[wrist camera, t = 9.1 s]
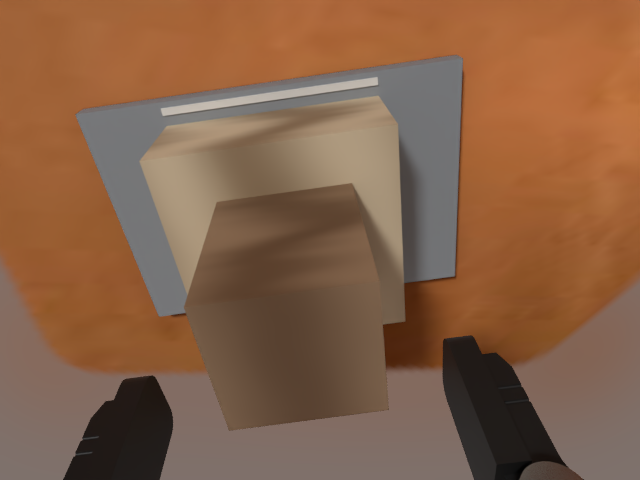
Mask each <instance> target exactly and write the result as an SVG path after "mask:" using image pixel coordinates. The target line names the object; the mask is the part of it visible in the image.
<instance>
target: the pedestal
mask: <svg viewBox="0 0 640 480" xmlns="http://www.w3.org/2000/svg"><path fill="white" fill-rule="evenodd" d="M139 162H140V164H141V167H142V170H143V173H144V176H145V178H146V181H147V184H148V187H149V189H150V192H151V195H152V198H153V201H154V203H155V206H156V209H157V212H158V215H159V217H160V220H161V223H162V226H163V228H164V231H165V234H166V237H167V240H168V242H169V245H170V248H171V251H172V254H173V256H174V259H175V262H176V265H177V267H178V270H179V273H180V276H181V279H182V281H183V284H184V287H185V290H186V293H187V295H188V292H189V289H190V286H191V283H192V279H193V276H194V273H195V270H196V267H197V263H198V260H199V257H200V254H201V251H202V247H203V244H204V241H205V238H206V235H207V231H208V228H209V225H210V222H211V219H212V215H213V212H214V209H215V206H216V203H217V202H220V201H227V200H234V199H241V198H248V197H256V196H263V195H270V194H277V193H284V192H291V191H299V190H306V189H313V188H320V187H327V186H334V185H342V184H349V183H352V185H353V189H354V192H355V196H356V199H357V203H358V206H359V210H360V214H361V217H362V221H363V224H364V228H365V231H366V235H367V238H368V242H369V245H370V249H371V252H372V256H373V259H374V263H375V266H376V270H377V273H378V277H379V280H380V292H381V306H382V321H383V324H391V323H398V322H405V298H404V271H403V244H402V217H401V190H400V163H399V136H398V123H397V122H396V120H395V119H394V118H393V116H392V115H391V113H390V112H389V110H388V109H387V107H386V106H385V104H384V103H383V101H382V100H381V99H380V97H379V96H372V97H365V98H359V99H352V100H345V101H338V102H331V103H324V104H317V105H310V106H303V107H296V108H289V109H282V110H275V111H268V112H261V113H255V114H248V115H241V116H234V117H227V118H220V119H213V120H206V121H199V122H192V123H185V124H178V125H171V126H166V128H165V129H164V130H163V131H162V133H161V134H160V135H159V137H158V138H157V139H156V140H155V142H154V143H153V144H152V146H151V147H150V148H149V149H148V151H147V152H146V153H145V155H144V156H143V157H142V158H141V160H140V161H139Z"/></svg>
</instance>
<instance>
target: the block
mask: <svg viewBox="0 0 640 480" xmlns="http://www.w3.org/2000/svg"><path fill="white" fill-rule="evenodd" d="M184 310H185V312H186V315H187V318H188V321H189V323H190V326H191V329H192V331H193V334H194V337H195V340H196V342H197V345H198V348H199V350H200V353H201V356H202V358H203V361H204V364H205V367H206V369H207V372H208V375H209V377H210V380H211V383H212V386H213V388H214V391H215V394H216V396H217V399H218V402H219V404H220V407H221V410H222V413H223V415H224V418H225V421H226V423H227V426H228V429H229V431H230V430H237V429H246V428H253V427H261V426H268V425H276V424H283V423H292V422H299V421H307V420H315V419H322V418H330V417H338V416H345V415H353V414H360V413H368V412H376V411H384V410H389V408H388V407H389V406H388V393H387V378H386V364H385V349H384V335H383V321H382V306H381V292H380V280H379V277H378V273H377V270H376V266H375V263H374V259H373V256H372V252H371V249H370V245H369V242H368V238H367V235H366V231H365V228H364V224H363V221H362V217H361V214H360V210H359V206H358V203H357V199H356V196H355V192H354V189H353V185H352V183H349V184H342V185H334V186H327V187H320V188H313V189H306V190H299V191H291V192H284V193H277V194H270V195H263V196H256V197H248V198H241V199H234V200H227V201H220V202H217V203H216V206H215V209H214V212H213V215H212V219H211V222H210V225H209V228H208V231H207V235H206V238H205V241H204V244H203V247H202V251H201V254H200V257H199V260H198V263H197V267H196V270H195V273H194V276H193V279H192V283H191V286H190V289H189V292H188V295H187V299H186V302H185V305H184Z"/></svg>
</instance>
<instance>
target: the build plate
mask: <svg viewBox="0 0 640 480" xmlns="http://www.w3.org/2000/svg"><path fill="white" fill-rule="evenodd" d="M462 68H463V58H461V57H459V56H458V55H453V56H446V57H439V58H432V59H425V60H419V61H412V62H405V63H398V64H391V65H384V66H377V67H370V68H364V69H357V70H350V71H343V72H336V73H329V74H322V75H315V76H309V77H302V78H295V79H288V80H281V81H274V82H267V83H260V84H253V85H247V86H240V87H233V88H226V89H219V90H212V91H205V92H198V93H192V94H185V95H178V96H171V97H164V98H157V99H150V100H143V101H137V102H130V103H123V104H116V105H109V106H102V107H95V108H88V109H83V110H81V111H80V112H78V113H77V114H75V115H76V117H77V120H78V122H79V125H80V127H81V129H82V132H83V134H84V137H85V139H86V141H87V144H88V146H89V149H90V151H91V154H92V156H93V158H94V161H95V163H96V166H97V168H98V170H99V173H100V175H101V178H102V180H103V182H104V185H105V187H106V190H107V192H108V195H109V197H110V199H111V202H112V204H113V207H114V209H115V211H116V214H117V216H118V219H119V221H120V224H121V226H122V228H123V231H124V233H125V236H126V238H127V240H128V243H129V245H130V248H131V250H132V252H133V255H134V257H135V260H136V262H137V265H138V267H139V269H140V272H141V274H142V277H143V279H144V281H145V284H146V286H147V289H148V291H149V294H150V296H151V298H152V301H153V303H154V306H155V308H156V310H157V313H158V315H159V317H160V316H167V315H174V314H182V313H186V312H185V310H184V305H185V302H186V299H187V293H186V290H185V287H184V284H183V281H182V279H181V276H180V273H179V270H178V267H177V265H176V262H175V259H174V256H173V254H172V251H171V248H170V245H169V242H168V240H167V237H166V234H165V231H164V228H163V226H162V223H161V220H160V217H159V215H158V212H157V209H156V206H155V203H154V201H153V198H152V195H151V192H150V189H149V187H148V184H147V181H146V178H145V176H144V173H143V170H142V167H141V164H140V162H139V161H140V160H141V158H142V157H143V156H144V155H145V153H146V152H147V151H148V149H149V148H150V147H151V146H152V144H153V143H154V142H155V140H156V139H157V138H158V137H159V135H160V134H161V133H162V131H163V130H164V129H165V128H166V126H171V125H178V124H185V123H192V122H199V121H206V120H213V119H220V118H227V117H234V116H241V115H248V114H255V113H261V112H268V111H275V110H282V109H289V108H296V107H303V106H310V105H317V104H324V103H331V102H338V101H345V100H352V99H359V98H365V97H372V96H379V97H380V99H381V100H382V101H383V103H384V104H385V106H386V107H387V109H388V110H389V112H390V113H391V115H392V116H393V118H394V119H395V120H396V122H397V123H398V136H399V163H400V190H401V217H402V244H403V271H404V283H409V282H416V281H423V280H431V279H438V278H445V277H453V276H455V257H456V230H457V203H458V176H459V149H460V122H461V95H462Z"/></svg>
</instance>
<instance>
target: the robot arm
mask: <svg viewBox="0 0 640 480" xmlns="http://www.w3.org/2000/svg"><path fill="white" fill-rule="evenodd" d="M443 385H444V391H445V395H446V398H447V402H448V405H449V407H450V410H451V413H452V416H453V419H454V422H455V425H456V427H457V431H458V434H459V436H460V439H461V442H462V445H463V448H464V451H465V454H466V457H467V460H468V463H469V466H470V469H471V471H472V474H473V477H474V480H584V479H582V478H581V477H580V476H579V475H578V474H576V473H575V472H574V471H572V470H571V469H569V468H568V467H567V466H566V464H565V463H564V462H563V461H562V459H561V458H560V456H559V454H558V452H557V451H556V449H555V447H554V445H553V443H552V441H551V439H550V437H549V436H548V434H547V432H546V430H545V428H544V426H543V425H542V422H541V421H540V419H539V417H538V415H537V413H536V411H535V409H534V408H533V406H532V404H531V402H529V398H528V396H527V394H526V392H525V391H524V389H523V387H521V383H520V381H519V379H518V377H517V376H516V374H515V372H514V370H513V368H512V366H510V365H509V364H508V363H507V362H506V361H505V360H504V359H503V358H501V357H500V356H499V355H498V354H497V353H489V354H482V353H481V351H480V349H479V347H478V345H477V343H476V341H475V339H474V337H473V336H471V335H470V336H463V337H455V338H447V339H444V340H443ZM172 430H173V416H172V412H171V409H170V407H169V404H168V402H167V400H166V398H165V396H164V394H163V392H162V390H161V388H160V386H159V383H158V382H157V379H156V378H155V377H154V376H144V377H137V378H129V379H125V380H123V381H122V383H121V385H120V387H119V389H118V392H117V394H116V396H115V399H114V400H112V401H106V402H105V403H104V404H103V405H102V406H101V407H100V409H99V410H98V411H97V412H96V413H95V414H94V416H93V417H92V418H91V420H90V422H89V424H88V426H87V428H86V431H85V433H84V435H83V440H82V441H81V442H80V444H79V446H78V448H77V450H76V456H75V457H73V459H72V461H71V464H70V466H69V468H68V470H67V472H66V475H65V477H64V479H63V480H160V476H161V472H162V469H163V464H164V461H165V457H166V454H167V449H168V446H169V442H170V438H171V434H172Z"/></svg>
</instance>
